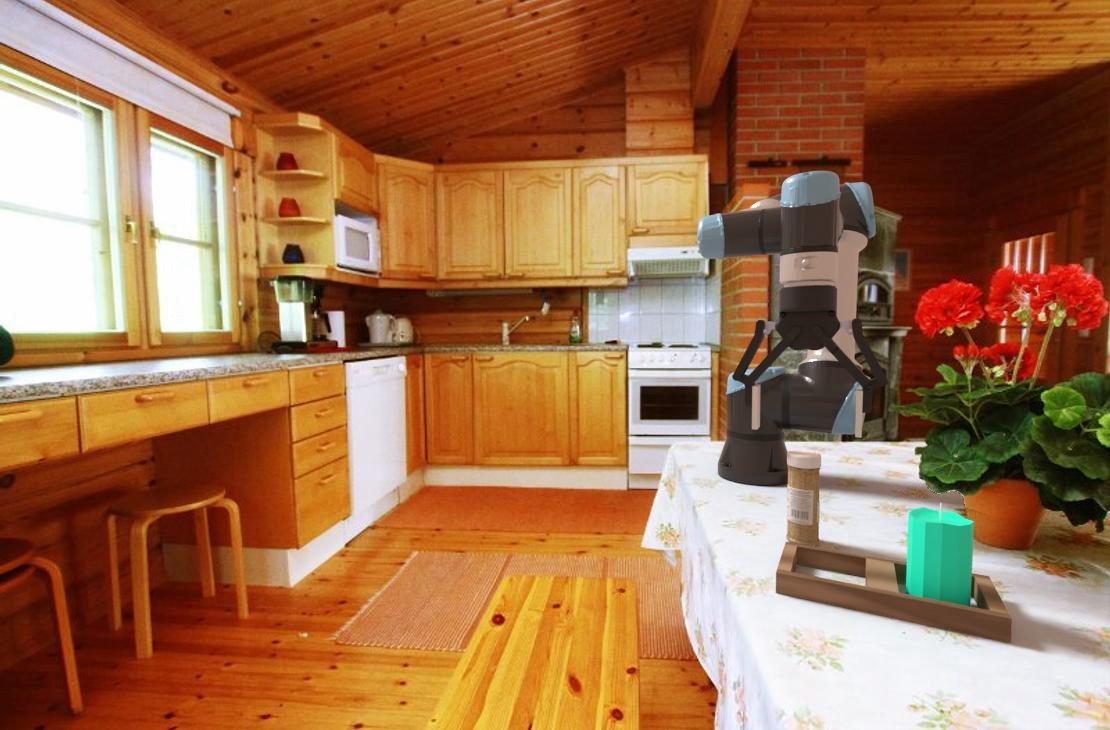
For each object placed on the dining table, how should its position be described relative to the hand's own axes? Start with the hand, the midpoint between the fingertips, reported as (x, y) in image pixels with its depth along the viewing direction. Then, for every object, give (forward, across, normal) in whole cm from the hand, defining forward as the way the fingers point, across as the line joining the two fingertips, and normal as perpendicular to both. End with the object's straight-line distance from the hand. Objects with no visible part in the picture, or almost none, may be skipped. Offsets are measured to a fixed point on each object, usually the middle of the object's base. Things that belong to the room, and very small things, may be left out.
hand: (804, 431), depth 78 cm
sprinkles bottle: (+17, 0, 0) cm, 17 cm away
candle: (+17, +15, -13) cm, 26 cm away
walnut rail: (+16, +9, -13) cm, 23 cm away
